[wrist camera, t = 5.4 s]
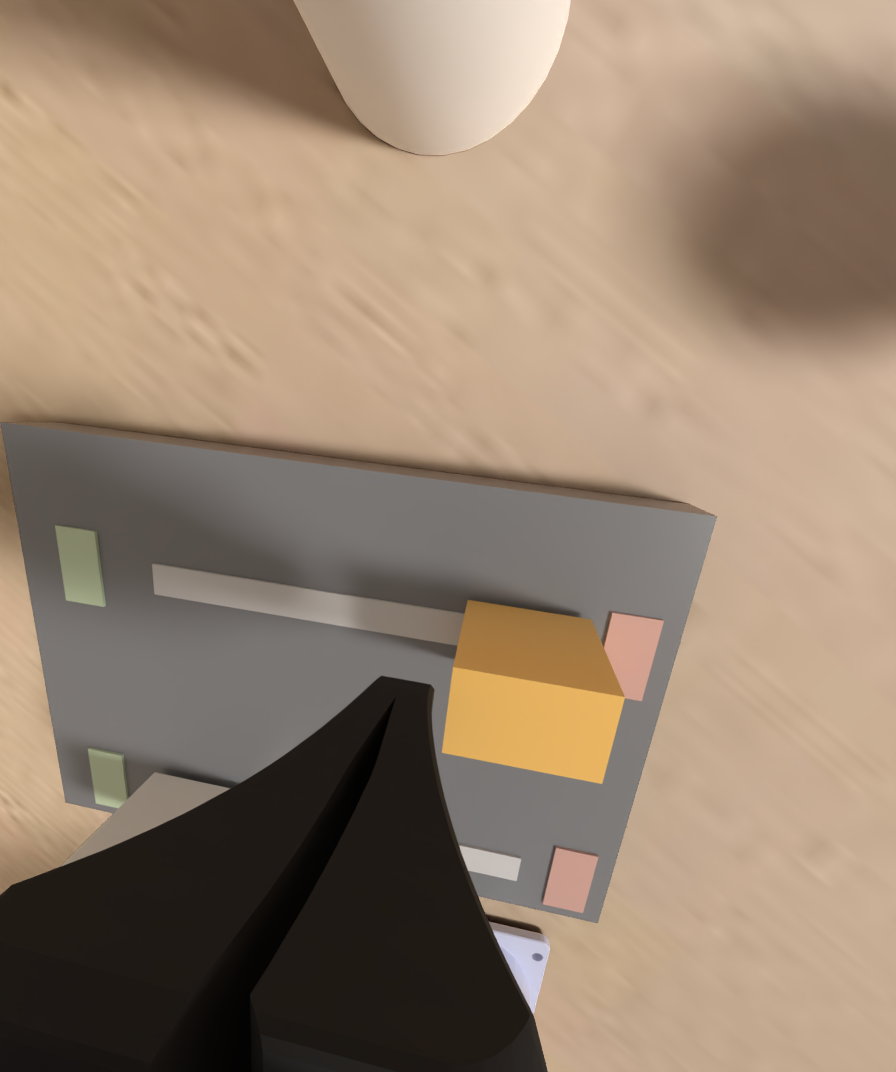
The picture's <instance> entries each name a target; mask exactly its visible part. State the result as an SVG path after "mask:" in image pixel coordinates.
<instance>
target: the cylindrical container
mask: <svg viewBox="0 0 896 1072" xmlns="http://www.w3.org/2000/svg"><path fill="white" fill-rule="evenodd" d="M293 1H294V3H295V5H296V7H297V9H298V11H299V13H300V15H301V17H302V18H303V20H304V22H305V24H306V26H307V28H308V30H309V32H310V34H311V36H312V38H313V40H314V42H315V44H316V46H317V48H318V50H319V52H320V54H321V56H322V58H323V60H324V62H325V64H326V66H327V68H328V70H329V72H330V74H331V76H332V78H333V80H334V82H335V84H336V85H337V87H338V89H339V91H340V93H341V95H342V97H343V99H344V101H345V103H346V104H347V106H348V107H349V108H350V110H351V111H352V112H353V113H354V115H355V116H356V117H357V119H358V120H359V121H360V122H361V123H362V124H363V125H364V126H365V127H366V128H367V129H368V130H370V131H371V132H372V133H373V134H374V135H375V136H376V137H378V138H379V139H381V140H383V141H385V142H387V143H388V144H390V145H392V146H394V147H395V148H397V149H401V150H404V151H408V152H411V153H415V154H418V155H448V154H452V153H457V152H461V151H466V150H469V149H471V148H473V147H475V146H477V145H479V144H481V143H483V142H485V141H487V140H489V139H491V138H492V137H494V136H495V135H496V134H498V133H499V132H500V131H502V130H503V129H504V128H506V127H507V126H508V125H510V124H511V123H512V122H513V121H514V120H515V119H516V118H517V116H518V115H519V114H520V113H521V112H522V111H523V110H524V109H525V108H526V107H527V106H528V105H529V103H530V102H531V100H532V99H533V97H534V96H535V94H536V93H537V91H538V90H539V88H540V87H541V85H542V84H543V82H544V81H545V79H546V77H547V75H548V73H549V71H550V68H551V66H552V64H553V62H554V60H555V58H556V56H557V53H558V51H559V48H560V44H561V41H562V37H563V34H564V30H565V27H566V24H567V20H568V15H569V8H570V2H571V0H293Z"/></svg>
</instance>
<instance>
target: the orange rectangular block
mask: <svg viewBox="0 0 896 1072" xmlns="http://www.w3.org/2000/svg"><path fill="white" fill-rule="evenodd" d="M624 700H625V696H624V693H623V691H622V689H621V686H620V684H619V682H618V680H617V677H616V675H615V673H614V670H613V668H612V666H611V663H610V661H609V659H608V656H607V654H606V652H605V649H604V647H603V645H602V642H601V640H600V638H599V636H598V633H597V631H596V629H595V626H594V624H593V622H592V619H586V618H580V617H573V616H567V615H561V614H554V613H548V612H542V611H536V610H529V609H523V608H517V607H510V606H504V605H498V604H491V603H485V602H479V601H472V600H467V605H466V610H465V614H464V619H463V623H462V628H461V633H460V637H459V642H458V646H457V651H456V656H455V660H454V665H453V671H452V678H451V686H450V694H449V701H448V709H447V716H446V724H445V732H444V739H443V747H442V753H446V754H451V755H456V756H461V757H466V758H471V759H476V760H481V761H487V762H492V763H497V764H502V765H507V766H512V767H517V768H522V769H528V770H533V771H538V772H543V773H548V774H553V775H558V776H563V777H568V778H574V779H579V780H584V781H589V782H594V783H599V784H602V783H603V779H604V775H605V772H606V768H607V764H608V760H609V756H610V753H611V749H612V745H613V741H614V737H615V734H616V730H617V726H618V722H619V719H620V715H621V711H622V707H623V703H624Z"/></svg>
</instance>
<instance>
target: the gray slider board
mask: <svg viewBox="0 0 896 1072" xmlns="http://www.w3.org/2000/svg"><path fill="white" fill-rule="evenodd" d="M0 423H1V428H2V434H3V440H4V446H5V452H6V458H7V463H8V469H9V475H10V481H11V487H12V493H13V498H14V504H15V510H16V516H17V522H18V528H19V533H20V539H21V545H22V551H23V557H24V563H25V568H26V574H27V580H28V586H29V592H30V598H31V603H32V609H33V615H34V621H35V627H36V633H37V638H38V644H39V650H40V656H41V662H42V668H43V673H44V679H45V685H46V691H47V697H48V703H49V708H50V714H51V720H52V726H53V732H54V738H55V743H56V749H57V755H58V761H59V767H60V773H61V778H62V784H63V790H64V796H65V802H66V803H70V804H75V805H79V806H83V807H88V808H92V809H97V810H101V811H105V812H110V813H114V812H115V811H116V810H117V809H118V808H119V807H120V806H121V805H122V804H123V803H124V802H125V801H126V800H127V799H128V798H129V797H130V796H131V795H132V794H133V793H134V792H135V791H136V790H137V789H138V788H139V787H140V786H141V785H142V784H143V783H144V782H145V781H146V780H147V779H148V778H149V777H150V776H151V775H152V774H153V773H154V772H156V773H161V774H165V775H170V776H175V777H179V778H184V779H189V780H193V781H198V782H203V783H207V784H212V785H217V786H221V787H226V788H232V787H234V786H236V785H238V784H240V783H241V782H243V781H245V780H246V779H248V778H250V777H251V776H253V775H254V774H256V773H257V772H259V771H261V770H262V769H264V768H265V767H267V766H268V765H270V764H271V763H273V762H275V761H276V760H277V759H279V758H280V757H282V756H283V755H285V754H286V753H288V752H289V751H290V750H292V749H293V748H294V747H296V746H297V745H298V744H300V743H301V742H302V741H304V740H305V739H307V738H308V737H309V736H311V735H312V734H313V733H315V732H316V731H317V730H318V729H320V728H321V727H322V726H324V725H325V724H326V723H327V722H328V721H330V720H331V719H332V718H333V717H334V716H336V715H337V714H338V713H339V712H340V711H342V710H343V709H344V708H345V707H346V706H347V705H349V704H350V703H351V702H352V701H353V700H354V699H355V698H356V697H358V696H359V695H360V694H361V693H362V692H363V691H364V690H365V689H366V688H367V687H368V686H370V685H371V684H372V683H373V682H374V681H375V680H376V679H377V678H379V677H380V676H387V677H393V678H398V679H404V680H409V681H415V682H420V683H426V684H431V685H432V687H433V688H434V689H435V691H434V699H433V707H432V729H433V738H434V745H435V753H436V759H437V765H438V770H439V774H440V779H441V784H442V788H443V792H444V797H445V800H446V804H447V808H448V812H449V815H450V818H451V822H452V825H453V829H454V832H455V835H456V838H457V841H458V844H459V847H460V850H461V853H462V856H463V859H464V861H465V864H466V866H467V869H468V871H469V874H470V877H471V879H472V882H473V884H474V887H475V890H476V892H477V895H478V896H480V897H484V898H489V899H493V900H497V901H502V902H506V903H511V904H515V905H519V906H524V907H528V908H533V909H537V910H541V911H546V912H550V913H555V914H559V915H564V916H568V917H572V918H577V919H581V920H586V921H590V922H594V923H598V920H599V917H600V914H601V910H602V907H603V903H604V900H605V897H606V893H607V890H608V886H609V883H610V880H611V876H612V873H613V869H614V866H615V862H616V859H617V856H618V852H619V849H620V845H621V842H622V839H623V835H624V832H625V828H626V825H627V822H628V818H629V815H630V811H631V808H632V805H633V801H634V798H635V794H636V791H637V787H638V784H639V781H640V777H641V774H642V770H643V767H644V764H645V760H646V757H647V753H648V750H649V747H650V743H651V740H652V736H653V733H654V730H655V726H656V723H657V719H658V716H659V712H660V709H661V706H662V702H663V699H664V695H665V692H666V689H667V685H668V682H669V678H670V675H671V672H672V668H673V665H674V661H675V658H676V655H677V651H678V648H679V644H680V641H681V637H682V634H683V631H684V627H685V624H686V620H687V617H688V614H689V610H690V607H691V603H692V600H693V597H694V593H695V590H696V586H697V583H698V580H699V576H700V573H701V569H702V566H703V562H704V559H705V556H706V552H707V549H708V545H709V542H710V539H711V535H712V532H713V528H714V525H715V522H716V518H717V516H715V515H713V514H710V513H708V512H706V511H704V510H701V509H699V508H697V507H695V506H693V505H690V504H686V503H678V502H670V501H662V500H655V499H647V498H639V497H632V496H624V495H616V494H609V493H601V492H593V491H585V490H578V489H570V488H562V487H555V486H547V485H539V484H531V483H524V482H516V481H508V480H501V479H493V478H485V477H477V476H470V475H462V474H454V473H447V472H439V471H431V470H424V469H416V468H408V467H400V466H393V465H385V464H377V463H370V462H362V461H354V460H346V459H339V458H331V457H323V456H316V455H308V454H300V453H292V452H285V451H277V450H269V449H262V448H254V447H246V446H239V445H231V444H223V443H215V442H208V441H200V440H192V439H185V438H177V437H169V436H161V435H154V434H146V433H138V432H131V431H123V430H115V429H107V428H100V427H92V426H84V425H77V424H69V423H61V422H0ZM467 600H472V601H479V602H485V603H491V604H498V605H504V606H510V607H517V608H523V609H529V610H536V611H542V612H548V613H554V614H561V615H567V616H573V617H580V618H586V619H592V622H593V624H594V626H595V629H596V631H597V633H598V636H599V638H600V640H601V642H602V645H603V647H604V649H605V652H606V654H607V656H608V659H609V661H610V663H611V666H612V668H613V670H614V673H615V675H616V677H617V680H618V682H619V684H620V686H621V689H622V691H623V693H624V696H625V700H624V703H623V707H622V711H621V715H620V719H619V722H618V726H617V730H616V734H615V737H614V741H613V745H612V749H611V753H610V756H609V760H608V764H607V768H606V772H605V775H604V779H603V783H602V784H599V783H594V782H589V781H584V780H579V779H574V778H568V777H563V776H558V775H553V774H548V773H543V772H538V771H533V770H528V769H522V768H517V767H512V766H507V765H502V764H497V763H492V762H487V761H481V760H476V759H471V758H466V757H461V756H456V755H451V754H446V753H442V747H443V739H444V732H445V724H446V716H447V709H448V701H449V694H450V686H451V678H452V671H453V665H454V660H455V656H456V651H457V646H458V642H459V637H460V633H461V628H462V623H463V619H464V614H465V610H466V605H467Z"/></svg>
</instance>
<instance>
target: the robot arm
mask: <svg viewBox="0 0 896 1072" xmlns="http://www.w3.org/2000/svg"><path fill="white" fill-rule="evenodd" d="M434 691H435V689H434V688H433V687H432V685H431V684H426V683H420V682H415V681H409V680H404V679H398V678H393V677H387V676H380V677H379V678H377V679H376V680H375V681H374V682H373V683H372V684H371V685H370V686H368V687H367V688H366V689H365V690H364V691H363V692H362V693H361V694H360V695H359V696H358V697H356V698H355V699H354V700H353V701H352V702H351V703H350V704H349V705H347V706H346V707H345V708H344V709H343V710H342V711H340V712H339V713H338V714H337V715H336V716H334V717H333V718H332V719H331V720H330V721H328V722H327V723H326V724H325V725H324V726H322V727H321V728H320V729H318V730H317V731H316V732H315V733H313V734H312V735H311V736H309V737H308V738H307V739H305V740H304V741H302V742H301V743H300V744H298V745H297V746H296V747H294V748H293V749H292V750H290V751H289V752H288V753H286V754H285V755H283V756H282V757H280V758H279V759H277V760H276V761H275V762H273V763H271V764H270V765H268V766H267V767H265V768H264V769H262V770H261V771H259V772H257V773H256V774H254V775H253V776H251V777H250V778H248V779H246V780H245V781H243V782H241V783H240V784H238V785H236V786H234V787H232V788H231V789H229V790H227V791H225V792H223V793H221V794H220V795H218V796H216V797H214V798H212V799H210V800H208V801H207V802H205V803H203V804H201V805H199V806H197V807H195V808H194V809H192V810H190V811H188V812H186V813H184V814H182V815H180V816H178V817H176V818H173V819H171V820H169V821H167V822H165V823H163V824H161V825H159V826H157V827H155V828H152V829H150V830H148V831H146V832H143V833H141V834H139V835H137V836H135V837H132V838H130V839H128V840H126V841H123V842H121V843H119V844H116V845H114V846H112V847H109V848H107V849H104V850H102V851H100V852H97V853H95V854H92V855H89V856H87V857H84V858H82V859H79V860H77V861H74V862H71V863H69V864H66V865H64V866H61V867H59V868H56V869H53V870H51V871H48V872H46V873H43V874H41V875H38V876H35V877H33V878H30V879H27V880H24V881H22V882H19V883H16V884H13V885H11V886H10V887H9V888H8V889H7V890H6V891H4V892H3V893H2V894H1V895H0V1072H548V1071H547V1067H546V1063H545V1059H544V1055H543V1051H542V1047H541V1043H540V1039H539V1035H538V1031H537V1027H536V1023H535V1019H534V1016H533V1014H534V1010H535V1006H536V1002H537V998H538V995H539V991H540V987H541V983H542V979H543V975H544V971H545V967H546V963H547V959H548V956H549V952H550V948H549V940H548V938H547V937H546V936H545V935H543V934H540V933H536V932H532V931H528V930H524V929H519V928H515V927H511V926H506V925H502V924H498V923H493V922H489V921H488V919H487V917H486V914H485V912H484V910H483V908H482V905H481V903H480V900H479V897H478V895H477V892H476V890H475V887H474V884H473V882H472V879H471V877H470V874H469V871H468V869H467V866H466V864H465V861H464V859H463V856H462V853H461V850H460V847H459V844H458V841H457V838H456V835H455V832H454V829H453V825H452V822H451V818H450V815H449V812H448V808H447V804H446V800H445V797H444V792H443V788H442V784H441V779H440V774H439V770H438V765H437V759H436V753H435V745H434V738H433V729H432V707H433V699H434Z"/></svg>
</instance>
